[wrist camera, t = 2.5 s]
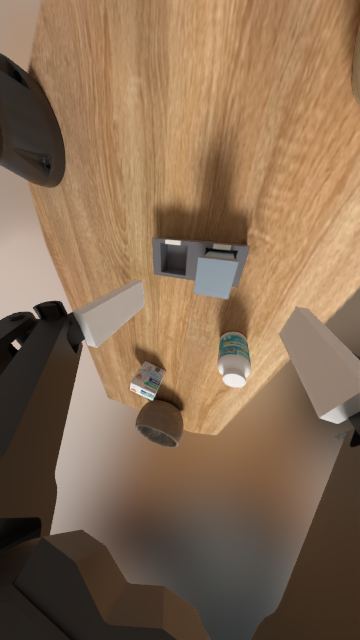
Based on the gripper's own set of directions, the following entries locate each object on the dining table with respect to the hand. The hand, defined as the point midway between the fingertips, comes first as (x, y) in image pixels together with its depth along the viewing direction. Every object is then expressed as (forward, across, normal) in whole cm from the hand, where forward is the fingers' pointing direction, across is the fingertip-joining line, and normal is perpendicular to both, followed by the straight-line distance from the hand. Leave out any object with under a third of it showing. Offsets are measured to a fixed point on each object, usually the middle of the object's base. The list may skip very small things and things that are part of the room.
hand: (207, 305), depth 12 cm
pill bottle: (+22, +8, -21) cm, 31 cm away
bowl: (+22, -13, -79) cm, 83 cm away
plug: (+21, 0, 0) cm, 21 cm away
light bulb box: (+22, -19, -48) cm, 56 cm away
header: (+22, -5, 0) cm, 22 cm away
